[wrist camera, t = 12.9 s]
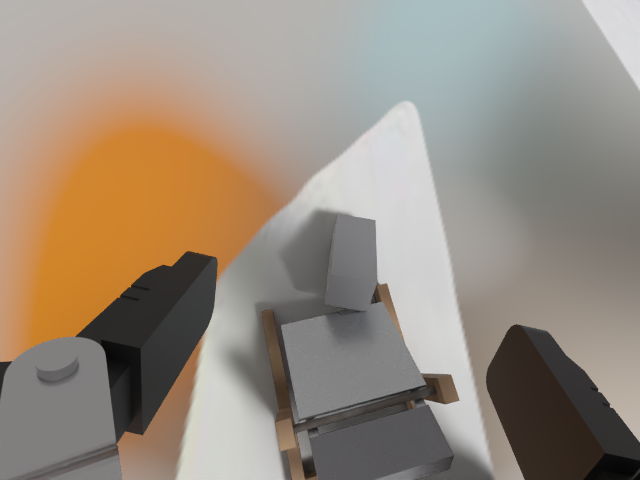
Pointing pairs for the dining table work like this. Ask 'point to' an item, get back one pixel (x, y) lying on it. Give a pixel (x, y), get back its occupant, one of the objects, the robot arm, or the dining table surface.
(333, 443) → the trapdoor plate
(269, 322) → the brown wooden frame
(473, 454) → the dining table surface
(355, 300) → the basalt block
